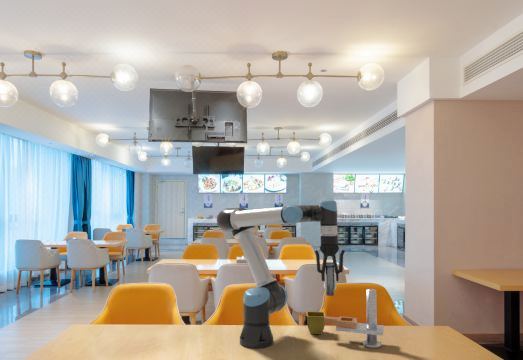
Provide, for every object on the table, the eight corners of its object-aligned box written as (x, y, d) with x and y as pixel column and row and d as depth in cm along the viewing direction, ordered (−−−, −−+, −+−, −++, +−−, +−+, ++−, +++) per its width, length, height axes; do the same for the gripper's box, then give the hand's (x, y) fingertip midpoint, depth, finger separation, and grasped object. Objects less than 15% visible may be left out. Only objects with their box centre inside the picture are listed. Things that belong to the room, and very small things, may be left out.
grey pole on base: (384, 342, 187) (383, 288, 188) (382, 349, 178) (382, 293, 179) (327, 336, 196) (326, 284, 197) (322, 342, 187) (322, 288, 188)
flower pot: (324, 330, 205) (324, 311, 205) (325, 336, 196) (325, 316, 197) (306, 329, 206) (306, 311, 206) (306, 335, 197) (306, 316, 198)
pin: (325, 296, 181) (325, 263, 182) (324, 293, 186) (323, 262, 187) (336, 296, 181) (335, 263, 182) (334, 293, 186) (333, 262, 187)
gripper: (311, 236, 181) (312, 290, 180) (349, 235, 181) (350, 290, 180) (309, 234, 189) (310, 287, 187) (345, 234, 189) (347, 286, 188)
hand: (330, 288), depth 184 cm, fingers closed on pin, 3 cm apart
